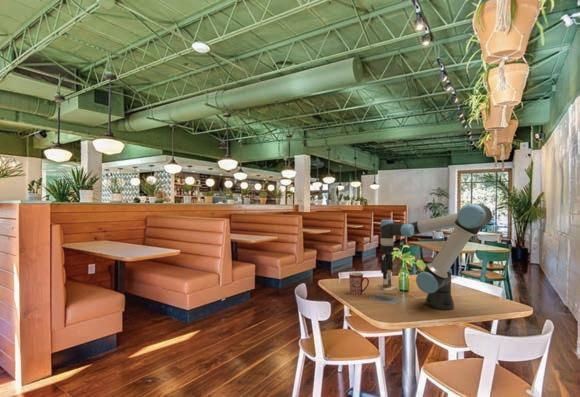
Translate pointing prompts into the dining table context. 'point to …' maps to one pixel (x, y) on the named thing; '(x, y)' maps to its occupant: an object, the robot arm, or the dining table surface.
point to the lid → (389, 286)
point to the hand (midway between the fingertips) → (387, 283)
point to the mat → (386, 298)
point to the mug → (356, 283)
